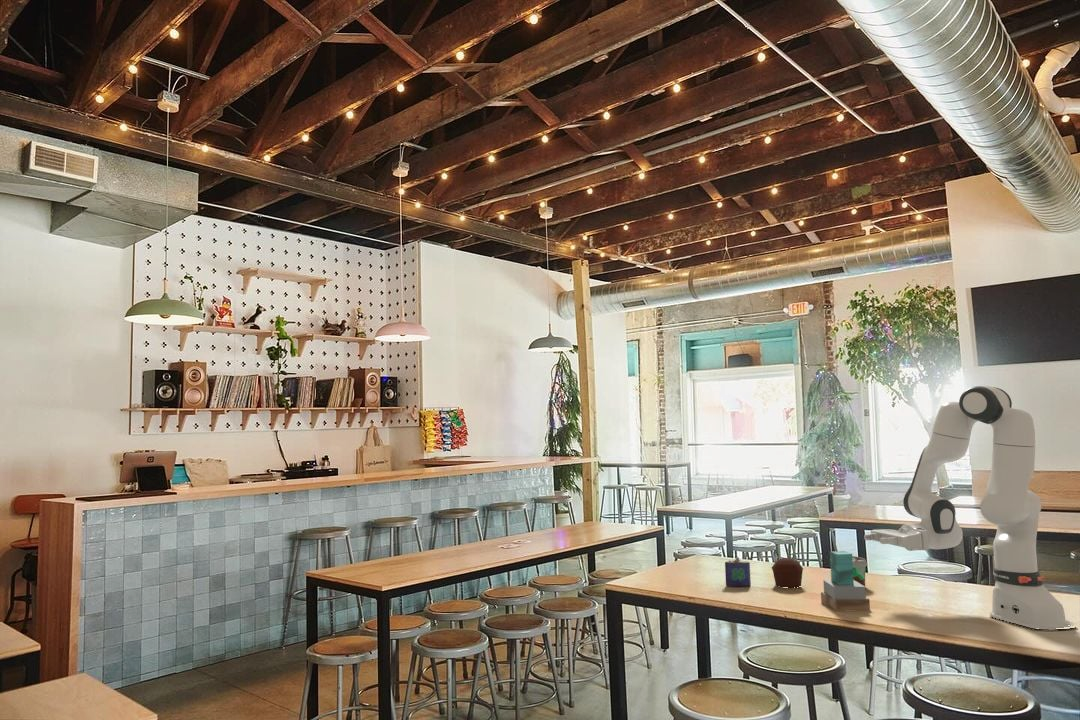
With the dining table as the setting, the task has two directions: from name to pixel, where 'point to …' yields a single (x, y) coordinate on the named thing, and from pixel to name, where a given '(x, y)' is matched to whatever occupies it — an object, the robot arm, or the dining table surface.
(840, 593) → the tower top
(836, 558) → the teal block
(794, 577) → the muffin
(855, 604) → the block
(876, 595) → the dining table surface
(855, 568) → the food container
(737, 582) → the flask
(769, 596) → the dining table surface
